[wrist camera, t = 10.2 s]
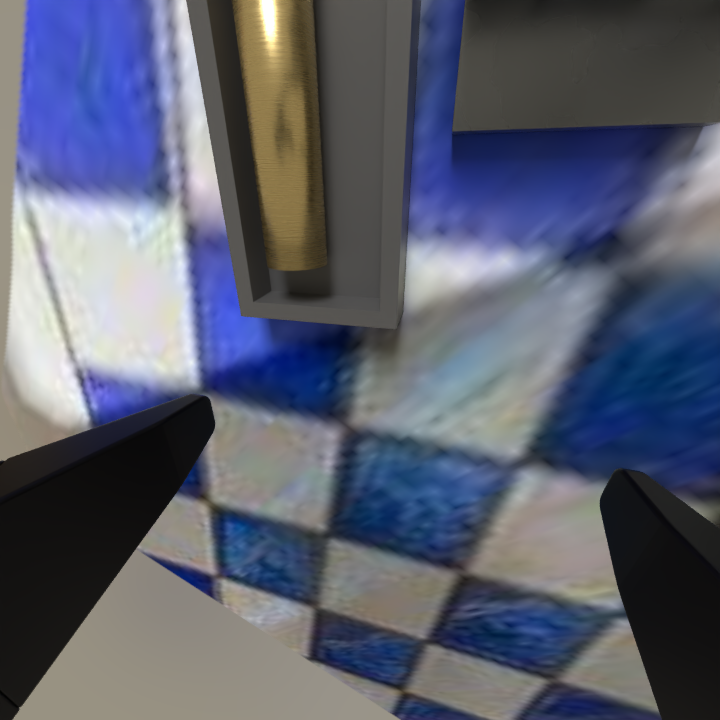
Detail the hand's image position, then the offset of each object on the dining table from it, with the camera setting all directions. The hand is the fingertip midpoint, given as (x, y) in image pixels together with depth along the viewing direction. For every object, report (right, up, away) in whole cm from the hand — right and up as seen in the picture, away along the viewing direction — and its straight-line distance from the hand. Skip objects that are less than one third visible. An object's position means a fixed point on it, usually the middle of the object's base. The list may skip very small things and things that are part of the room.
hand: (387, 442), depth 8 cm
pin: (-4, +12, +6) cm, 14 cm away
